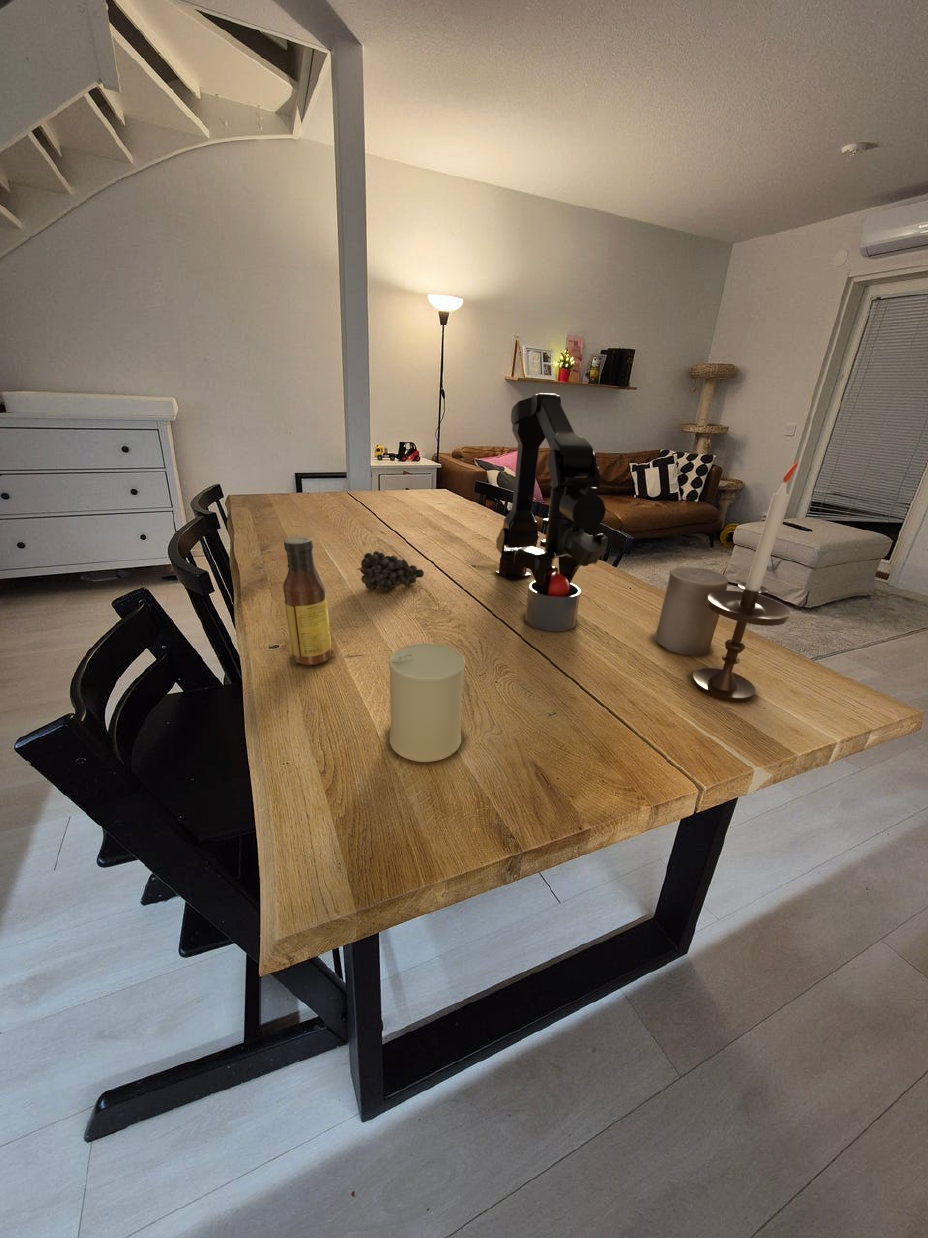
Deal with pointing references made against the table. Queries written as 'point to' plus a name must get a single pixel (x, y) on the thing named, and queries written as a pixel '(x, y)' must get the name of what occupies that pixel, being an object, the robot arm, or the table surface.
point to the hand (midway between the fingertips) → (553, 594)
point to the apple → (558, 585)
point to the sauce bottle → (306, 605)
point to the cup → (552, 609)
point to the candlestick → (746, 611)
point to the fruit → (387, 572)
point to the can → (426, 701)
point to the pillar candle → (689, 610)
